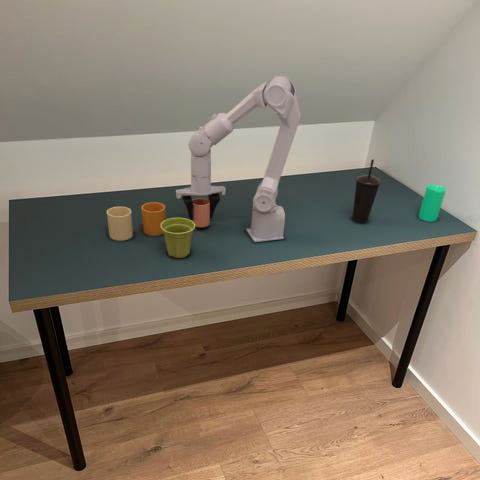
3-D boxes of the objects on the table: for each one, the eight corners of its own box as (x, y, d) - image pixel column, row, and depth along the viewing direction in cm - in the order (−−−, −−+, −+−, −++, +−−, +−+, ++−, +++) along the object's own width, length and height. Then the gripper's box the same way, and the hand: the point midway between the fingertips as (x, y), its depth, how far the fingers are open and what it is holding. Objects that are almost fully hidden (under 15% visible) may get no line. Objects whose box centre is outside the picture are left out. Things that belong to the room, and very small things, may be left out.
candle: (416, 218, 170) (426, 184, 163) (420, 212, 174) (430, 178, 167) (435, 223, 168) (445, 188, 161) (438, 216, 172) (449, 182, 165)
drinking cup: (371, 227, 163) (385, 165, 151) (347, 223, 164) (359, 162, 152) (371, 216, 169) (385, 157, 157) (348, 213, 170) (360, 154, 158)
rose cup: (207, 218, 159) (207, 197, 155) (211, 226, 155) (212, 204, 150) (189, 220, 157) (189, 198, 153) (193, 228, 153) (193, 206, 149)
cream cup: (131, 228, 154) (129, 205, 149) (134, 239, 149) (132, 215, 144) (108, 231, 152) (105, 207, 147) (110, 241, 147) (108, 217, 142)
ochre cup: (163, 224, 157) (162, 201, 153) (168, 234, 152) (167, 211, 148) (141, 226, 155) (139, 203, 151) (145, 236, 150) (143, 213, 146)
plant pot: (164, 263, 139) (163, 234, 134) (159, 246, 146) (157, 218, 141) (198, 259, 141) (198, 231, 136) (191, 243, 148) (191, 216, 143)
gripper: (221, 167, 152) (220, 210, 160) (173, 171, 148) (174, 214, 156) (228, 176, 146) (226, 220, 155) (178, 180, 143) (179, 224, 151)
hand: (200, 218), depth 155 cm, fingers closed on rose cup, 5 cm apart
